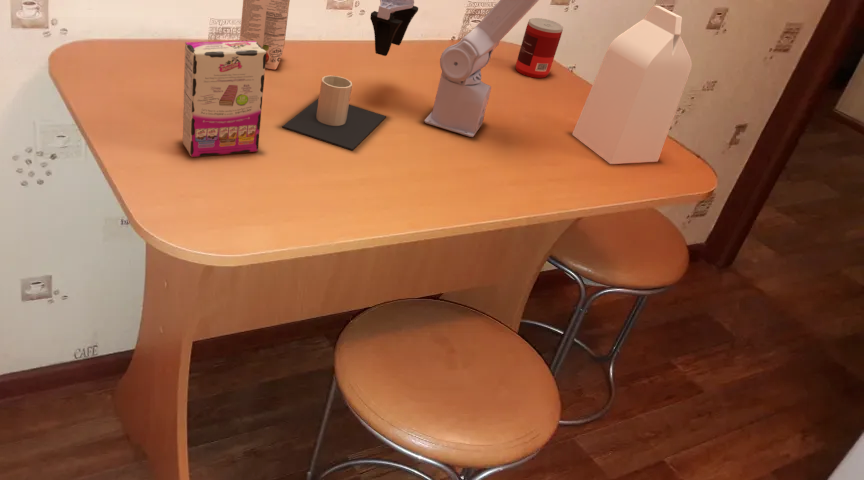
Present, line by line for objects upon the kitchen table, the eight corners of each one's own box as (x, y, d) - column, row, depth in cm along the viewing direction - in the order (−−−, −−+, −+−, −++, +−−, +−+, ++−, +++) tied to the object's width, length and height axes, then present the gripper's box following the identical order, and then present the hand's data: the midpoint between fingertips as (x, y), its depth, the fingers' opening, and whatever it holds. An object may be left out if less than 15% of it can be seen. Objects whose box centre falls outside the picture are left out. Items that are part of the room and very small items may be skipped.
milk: (571, 134, 153) (619, -2, 138) (617, 133, 158) (669, 1, 143) (610, 164, 144) (665, 22, 130) (657, 161, 149) (716, 24, 134)
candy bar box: (247, 138, 129) (256, 39, 119) (258, 152, 125) (269, 51, 116) (179, 143, 124) (184, 39, 114) (189, 158, 120) (195, 53, 111)
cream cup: (350, 118, 141) (356, 81, 137) (339, 128, 137) (345, 90, 133) (323, 110, 142) (328, 72, 138) (311, 119, 138) (316, 81, 134)
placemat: (385, 117, 145) (386, 116, 145) (352, 150, 131) (352, 149, 131) (321, 97, 148) (321, 95, 147) (282, 127, 134) (282, 126, 134)
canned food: (553, 73, 181) (568, 25, 175) (540, 81, 175) (556, 32, 169) (522, 62, 184) (536, 15, 177) (509, 70, 178) (523, 21, 171)
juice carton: (280, 72, 154) (291, -29, 143) (236, 65, 154) (244, -37, 143) (283, 59, 160) (295, -39, 149) (241, 51, 160) (249, -47, 149)
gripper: (394, -40, 146) (380, 33, 154) (367, -25, 134) (354, 53, 142) (430, -30, 144) (414, 43, 152) (406, -15, 133) (390, 63, 141)
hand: (387, 48), depth 147 cm, fingers open, 7 cm apart
